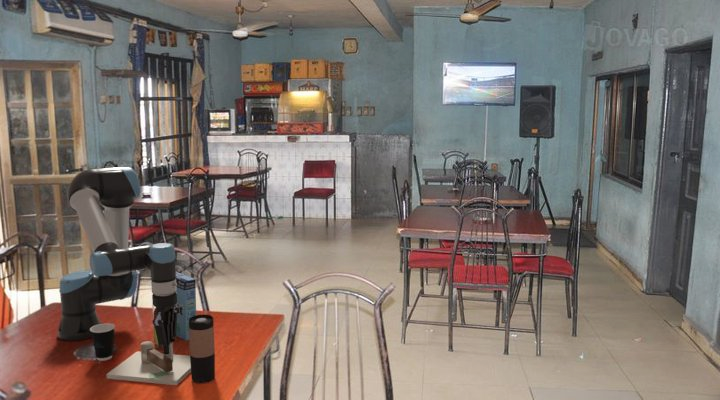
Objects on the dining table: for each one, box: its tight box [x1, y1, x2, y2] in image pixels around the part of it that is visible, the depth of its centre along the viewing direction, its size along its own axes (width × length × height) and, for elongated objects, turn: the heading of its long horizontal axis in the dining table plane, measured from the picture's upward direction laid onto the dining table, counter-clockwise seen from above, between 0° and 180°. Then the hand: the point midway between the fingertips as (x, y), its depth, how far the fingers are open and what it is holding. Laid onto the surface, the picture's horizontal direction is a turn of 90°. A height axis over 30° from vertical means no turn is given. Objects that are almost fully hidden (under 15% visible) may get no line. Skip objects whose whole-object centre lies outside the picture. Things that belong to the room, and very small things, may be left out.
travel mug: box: [188, 314, 216, 384], centre depth 187 cm, size 8×8×20 cm
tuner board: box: [106, 350, 191, 386], centre depth 194 cm, size 24×18×2 cm
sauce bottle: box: [153, 307, 163, 350], centre depth 212 cm, size 7×6×20 cm
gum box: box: [174, 271, 197, 342], centre depth 224 cm, size 20×5×23 cm, turn 47°
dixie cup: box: [90, 322, 116, 362], centre depth 202 cm, size 8×8×11 cm
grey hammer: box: [140, 340, 173, 372], centre depth 192 cm, size 17×4×6 cm, turn 45°
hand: (168, 362), depth 191 cm, fingers closed
